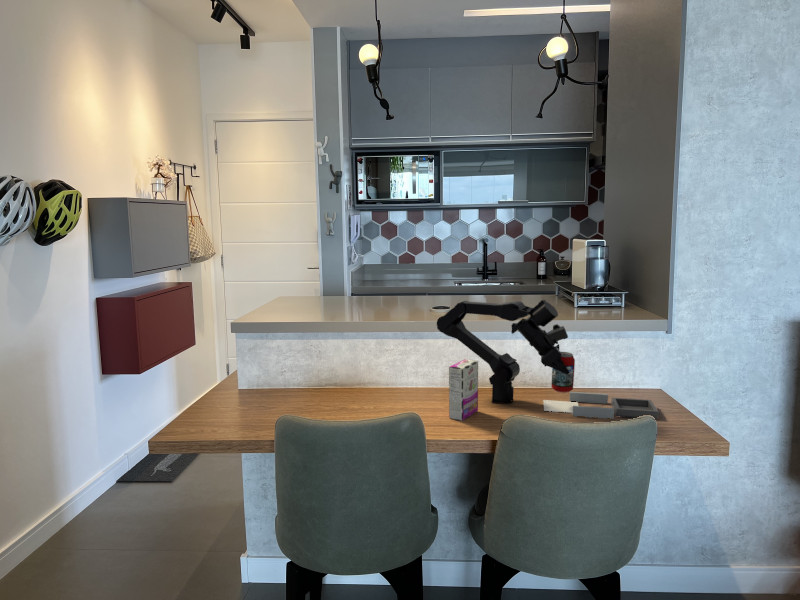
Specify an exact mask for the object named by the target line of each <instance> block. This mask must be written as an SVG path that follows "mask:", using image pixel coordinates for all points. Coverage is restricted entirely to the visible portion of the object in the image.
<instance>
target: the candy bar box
mask: <svg viewBox="0 0 800 600" xmlns="http://www.w3.org/2000/svg"><path fill="white" fill-rule="evenodd" d="M448 393H449V394H448V400H449V401H448V414H449V415H448V417H449V419H451V420H455V421H459V422H460V421H462V422H463V421H465V420H467V419H468V418H469V417H471V416H473V415H474V414H475V413H476V412H478V411H479V360H475V359H468V358H466V359H465V358H464V359H463V360H461V361H458V362H457V363H454V364H452V365H450V366H448Z"/></svg>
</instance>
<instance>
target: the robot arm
mask: <svg viewBox="0 0 800 600" xmlns="http://www.w3.org/2000/svg"><path fill="white" fill-rule="evenodd" d="M467 314H469V315H470V314H471V315H483V316H494V317H498V318H499V319H502V320H506V321H509V322H512V324H511V334H512V335H513V334H515V333H516V332H517V331H518V332H519V333H520V334H521V335H522V337H523V338H524V339H525V340H526V341H527V342H528V344H529V345H530V346H531V347H533V348H534V350H535V351H537V353H538V355H539V356H540V363H541V364H542V365H543V366H544V367H549V368H551V369H552V368H553V369H556V370H558V371H560V372H563V373H565V374H569V373H570V372H569V370H568V369H567V367H566V366H565V364H564V363H563V361H562V360H561V352H562V351H561V350H560V344H559V341H561V340H565V339H568V338H569V336H568V333H567V330H566V328H565V326H563V325H562V326H560V325H559V324H558V323H556V324H554V325H553V326H552V329H551V330H550V331H546V330H545V329H542V328H541V327H543V328H544V327H545V326H547V325H548V324H549V323H551V322H552V321H553V320H555V319H556V318H557V317H558V316H559V313H558V310H557V308H555V306H553V305H552V304H551V303H549V302H547V301H546V300H545V299H542V300H540V301H539V302H538V303H537V304H536V305H535V306H534V307H530V306H527V305H525V304H524V303H523V302H522V301H519V300H517V301H516V300H515V301H508V302H502V303H494V302H480V301H478V302H477V301H468V300H462V301H459V302H457V304H456V305H454V307H452V308H451V309H450V310H448V311H447V312H446V313H445V314H444V315H443V316H439V317H438V319H437V320H436V328H437V330H438V331H439V332H440V333H442V334H443V335H445V336H447V337H451V338H453V339H456V340H458V341H459V342H461V344H463V345H464V346H465V347H466V348H468V349H469V350H470V351H472V352H473V354H475V355H476V356H478V357H479V358H480V359H481V360H483V361H484V362H485V363H487V364H488V365H489V367H490V370H491V372H492V373H493V374H492V375H491V376H489V378H488V380H489V383H490V385H491V386H492V390H491V392H492V393H491V395H492V397H491V403H494V404H509V405H511V404H512V401H513V402H514V392H515V391H514V390H515V388H514V386H513V382H514V380H515V379H516V377H517V376H518V375H520V372H521V368H520V365H519V363H518V362H517V361H518V360H517V359H516V358H513V356H511V355H510V354H509V353H507V352H505V353H504V354H503V353H502V354H500V353H497V352H496V351H495V350H494V349H492V348H491V346H489V345H488V344H486V343H485V342H483V341H482V340H481V339H480V338H479V337H477V336H476V335H474V333H472V332H471V331H469V330H468V329H467V328H466V326H465V324H464V322H463V320H464V319H465V317H466V316H467ZM527 316H528V317H527ZM517 320H519V321H518V322H516V323H515V322H514V321H517ZM540 326H541V327H540Z"/></svg>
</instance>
